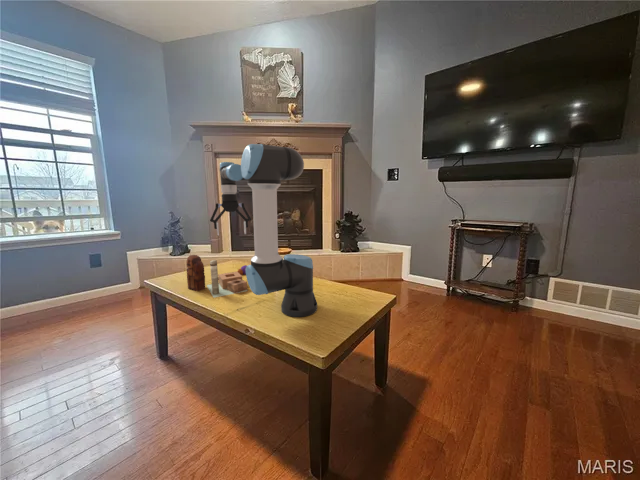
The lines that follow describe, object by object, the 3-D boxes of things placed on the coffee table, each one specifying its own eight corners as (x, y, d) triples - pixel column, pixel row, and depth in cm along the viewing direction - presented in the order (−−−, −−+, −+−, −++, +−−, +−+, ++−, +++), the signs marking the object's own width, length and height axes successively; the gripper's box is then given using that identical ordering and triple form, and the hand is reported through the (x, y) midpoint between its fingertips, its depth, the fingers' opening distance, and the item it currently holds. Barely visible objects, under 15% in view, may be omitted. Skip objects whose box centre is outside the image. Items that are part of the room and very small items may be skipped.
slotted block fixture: (248, 292, 128) (247, 281, 127) (213, 299, 119) (212, 287, 118) (237, 281, 144) (236, 271, 143) (206, 286, 136) (205, 275, 135)
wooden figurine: (184, 289, 133) (180, 255, 130) (196, 285, 138) (192, 252, 135) (197, 294, 126) (193, 258, 123) (208, 290, 131) (206, 255, 128)
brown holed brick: (247, 289, 129) (246, 281, 129) (234, 293, 124) (233, 285, 124) (240, 286, 134) (239, 278, 133) (227, 289, 129) (226, 282, 128)
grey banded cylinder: (220, 293, 124) (217, 261, 121) (213, 295, 122) (210, 262, 119) (218, 291, 126) (216, 259, 124) (211, 292, 125) (209, 260, 122)
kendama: (215, 274, 145) (245, 264, 160) (218, 284, 145) (247, 273, 160) (221, 274, 141) (251, 264, 156) (223, 285, 141) (253, 273, 157)
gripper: (253, 193, 140) (255, 232, 144) (203, 193, 132) (206, 234, 136) (254, 193, 133) (256, 234, 137) (202, 193, 125) (205, 236, 129)
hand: (232, 234), depth 136 cm, fingers open, 13 cm apart
